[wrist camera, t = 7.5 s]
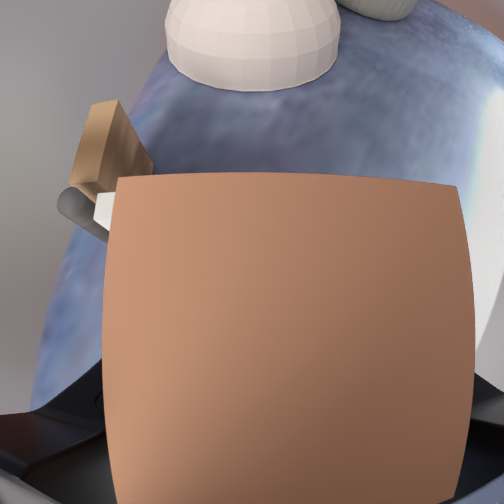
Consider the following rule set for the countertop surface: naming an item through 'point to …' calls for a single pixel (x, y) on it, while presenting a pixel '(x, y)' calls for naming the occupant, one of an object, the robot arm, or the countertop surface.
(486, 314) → the countertop surface
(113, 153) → the door frame
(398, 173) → the countertop surface
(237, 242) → the tan square pedestal
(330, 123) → the countertop surface
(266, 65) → the kettle
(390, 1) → the canister
